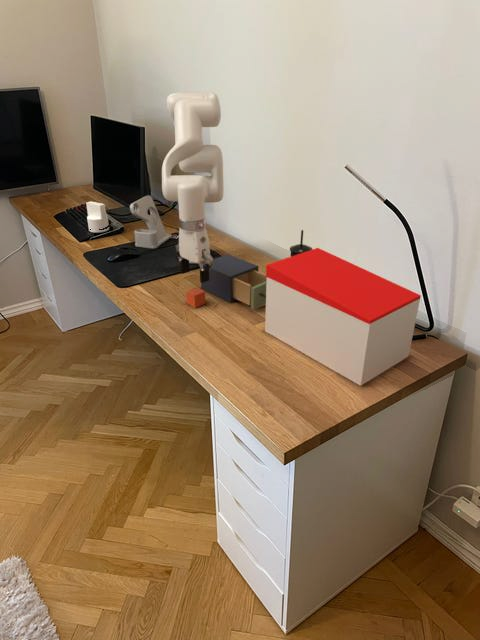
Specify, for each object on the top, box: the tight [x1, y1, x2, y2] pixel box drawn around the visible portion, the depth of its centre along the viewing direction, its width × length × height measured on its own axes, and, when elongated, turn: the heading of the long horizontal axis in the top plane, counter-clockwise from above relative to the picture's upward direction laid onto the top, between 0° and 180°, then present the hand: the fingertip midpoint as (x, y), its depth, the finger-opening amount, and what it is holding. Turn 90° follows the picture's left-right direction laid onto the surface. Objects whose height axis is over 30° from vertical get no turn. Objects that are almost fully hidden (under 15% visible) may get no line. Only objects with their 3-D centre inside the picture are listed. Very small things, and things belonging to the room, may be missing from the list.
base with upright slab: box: [85, 201, 110, 234], centre depth 221 cm, size 9×9×12 cm
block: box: [185, 286, 207, 309], centre depth 157 cm, size 4×4×4 cm
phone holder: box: [129, 194, 172, 249], centre depth 206 cm, size 17×10×18 cm, turn 162°
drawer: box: [232, 270, 267, 311], centre depth 157 cm, size 19×12×7 cm, turn 44°
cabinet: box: [200, 253, 259, 304], centre depth 165 cm, size 15×13×9 cm
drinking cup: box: [289, 229, 314, 257], centre depth 166 cm, size 8×8×20 cm
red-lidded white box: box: [264, 247, 422, 387], centre depth 132 cm, size 21×35×21 cm, turn 40°
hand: (194, 276), depth 153 cm, fingers open, 9 cm apart
